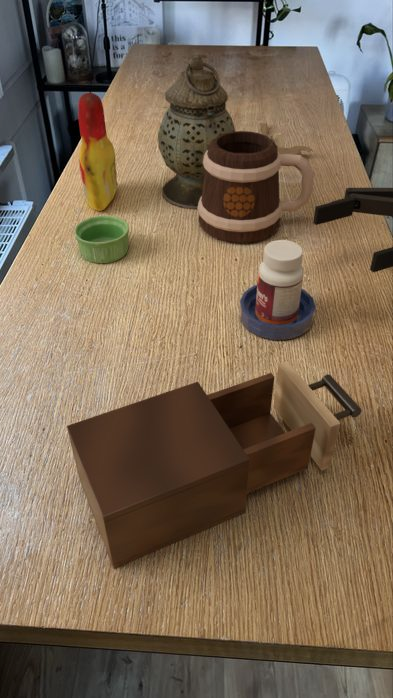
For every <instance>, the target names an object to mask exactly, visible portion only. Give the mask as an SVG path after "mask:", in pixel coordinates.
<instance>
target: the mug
mask: <svg viewBox="0 0 393 698" xmlns="http://www.w3.org/2000/svg"><path fill="white" fill-rule="evenodd" d="M276 145H277V144H276V142H275V141H274V140H273V139H272V140H271V139H270V138H269V137H267V136H265V135H263V134H262V133H260V132H256V131H255V132H254V131H250V130H249V131H247V130H238V131H237V130H235V131H234V132H228V133H224V134H222V135H219V136H218V137H216V138H215V139H214V140H212V141H211V142H210V144H209V147H208V150H207V151H206V153H205V155H204V159H203V165H204V168H205V173H204V182H203V191H202V196H201V198H200V200H199V203H198V209H197V211H198V223H199V226H200V227H201V229H202V230H203V231H204V232H205V233H206V234H208V235H209V236H210V237H212V238H214V239H217V240H220V241H224V242H226V243H232V244H233V243H235V244H246V243H255V242H259V241H262V240H265V239H266V238H268V237H270V236H272V235H273V234H275V233H276V231H278V229H279V228H280V225H281V217H282V215H283V212H295V211H298V210H300V209H301V208H302V207H304V206H305V205H307V204H308V203H309V201H310V199H311V197H312V194H313V192H314V191H313V189H314V174H315V173H314V170H313V169H312V166H311V164H310V162H309V161H308V160H307V159H306V158H305V157H303V155H302V154H301V155H294V154H279V152H278V150H277V146H278V145H277V146H276ZM282 167H295V168H296V169H297V170H298V171H299V173H300V175H301V183H300V184H301V187H300V193H299V195H298V197H297V198H296V199H293V200H281V198H280V169H281V168H282Z"/></svg>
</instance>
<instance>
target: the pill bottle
mask: <svg viewBox="0 0 393 698" xmlns="http://www.w3.org/2000/svg"><path fill="white" fill-rule="evenodd" d="M303 254H304V249H303V247H301V245H300V244H298V243H296V242H294V241H292V240H288V239H276V240H272V241H270V242H268V243H266V245H265V247H264V249H263V256H262V260H263V261H262V262H261V263H260V264H259V267H258V271H257V273H258V274H257V284H256V285H257V296H256V311H255V313H256V317H257V318H258V320H259V321H261V322H264V323H269V324H273V325H290V324H292V323H293V322H294V321H295V320H296V319H297V316H298V310H299V303H300V296H301V289H303V281H304V266H303V265H302V263H303V256H304V255H303Z"/></svg>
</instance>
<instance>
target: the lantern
mask: <svg viewBox="0 0 393 698" xmlns="http://www.w3.org/2000/svg"><path fill="white" fill-rule="evenodd" d="M187 64H188V66H187V67H186V68H185V70H184V71H182V72H180V74H179V76H178V77H177V79H176V80H175V82H174V83H172V85H171V86H170V87H169V88H168V89H167V90H166V91H165V92H164V100H165V101H166V102H167V103H169V107H168V108H167V110H166V111H165V114H164V115H163V118H162V120H161V123H160V126H159V130H158V132H157V142H158V143H157V145H158V150H159V152H160V154H161V157H162V159H163V161H164V164H165V165H166V167H168V168H169V169H170V170H171V171H172V172H173V173H174V174H175V175H174V176H173V177H171V179H169V180H168V181H167V182H166V183H165V184H164V185H163V186H162V187H161V192H162V197H163V199H164V200H165V202H167V203H169V204H170V205H172V206H175V207H177V208H181V209H189V210H198V203H199V200H200V198H201V196H202V191H203V182H204V173H205V168H204V165H203V159H204V155H205V153H206V151H207V150H208V147H209V144H210V142H211V141H212V140H214V139H215V138H216V137H218V136H219V135H222V134H224V133H228V132H234V131H236V127H235V124H234V121H233V118H232V116H231V114H230V112H229V111H228V110H227V105H226V104H227V102H228V100H229V97H228V92H227V91H226V89H224V87H223V86H222V85H221V79H220V76H219V73H218V72H217V70H216V69H215V68H214V67H213V66H212V65H210V64H209V63H206V62H205V61H204V60H203V59H202V57H200V56H199V55H193V56H192V57H190V58H189V60H188V63H187ZM204 67H205V68H206V69H204ZM207 69H208V70H207Z"/></svg>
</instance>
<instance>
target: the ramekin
mask: <svg viewBox="0 0 393 698" xmlns="http://www.w3.org/2000/svg"><path fill="white" fill-rule="evenodd" d="M129 232H130V226H129V223H128V222H127V221H126V220H125V219H123V218H121V217H118V216H114V215H107V214H105V215H103V214H102V215H95V216H91V217H87V218H84V219H83V220H81V221H80V222H78V224H77V225H76V226H75V227H74V232H73V233H74V237H75V239H76V242H77V245H78V249H79V252H80V255H81V257H82V258H83V259H84V260H86V261H88V262H91V263H95V264H109V263H113V262H116V261H118V260H121V259H122V258H123V257H124V256H125V255H127V253H128V250H129Z"/></svg>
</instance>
